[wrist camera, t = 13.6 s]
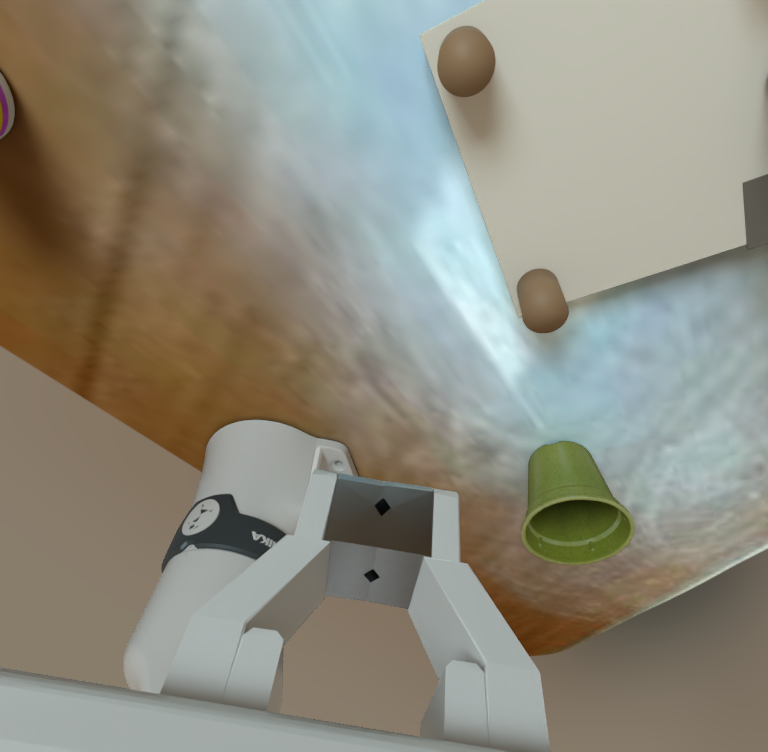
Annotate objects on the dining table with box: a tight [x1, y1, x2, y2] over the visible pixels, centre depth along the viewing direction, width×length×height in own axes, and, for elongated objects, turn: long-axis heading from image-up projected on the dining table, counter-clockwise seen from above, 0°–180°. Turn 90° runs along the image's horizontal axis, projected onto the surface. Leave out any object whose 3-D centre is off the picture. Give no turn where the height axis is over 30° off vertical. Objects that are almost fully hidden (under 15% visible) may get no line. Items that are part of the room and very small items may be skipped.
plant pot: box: [521, 441, 635, 565], centre depth 49 cm, size 9×9×9 cm
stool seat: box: [419, 0, 768, 333], centre depth 31 cm, size 20×20×6 cm
